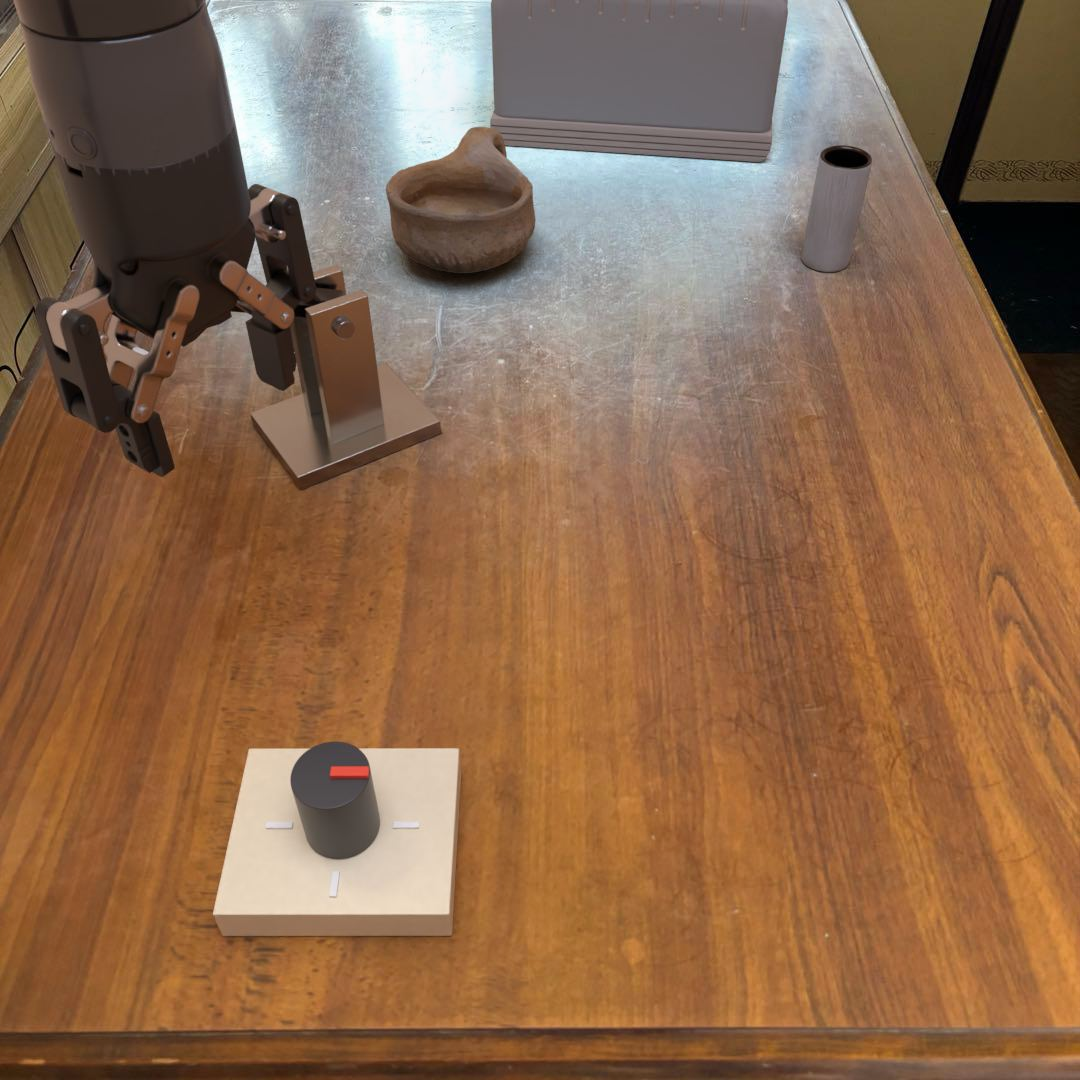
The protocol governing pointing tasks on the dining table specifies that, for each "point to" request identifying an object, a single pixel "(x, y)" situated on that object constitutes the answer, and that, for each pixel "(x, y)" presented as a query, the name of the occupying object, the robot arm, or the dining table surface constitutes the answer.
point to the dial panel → (352, 883)
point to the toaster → (638, 75)
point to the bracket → (341, 394)
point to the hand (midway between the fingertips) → (218, 423)
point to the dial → (336, 799)
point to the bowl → (463, 207)
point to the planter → (835, 207)
